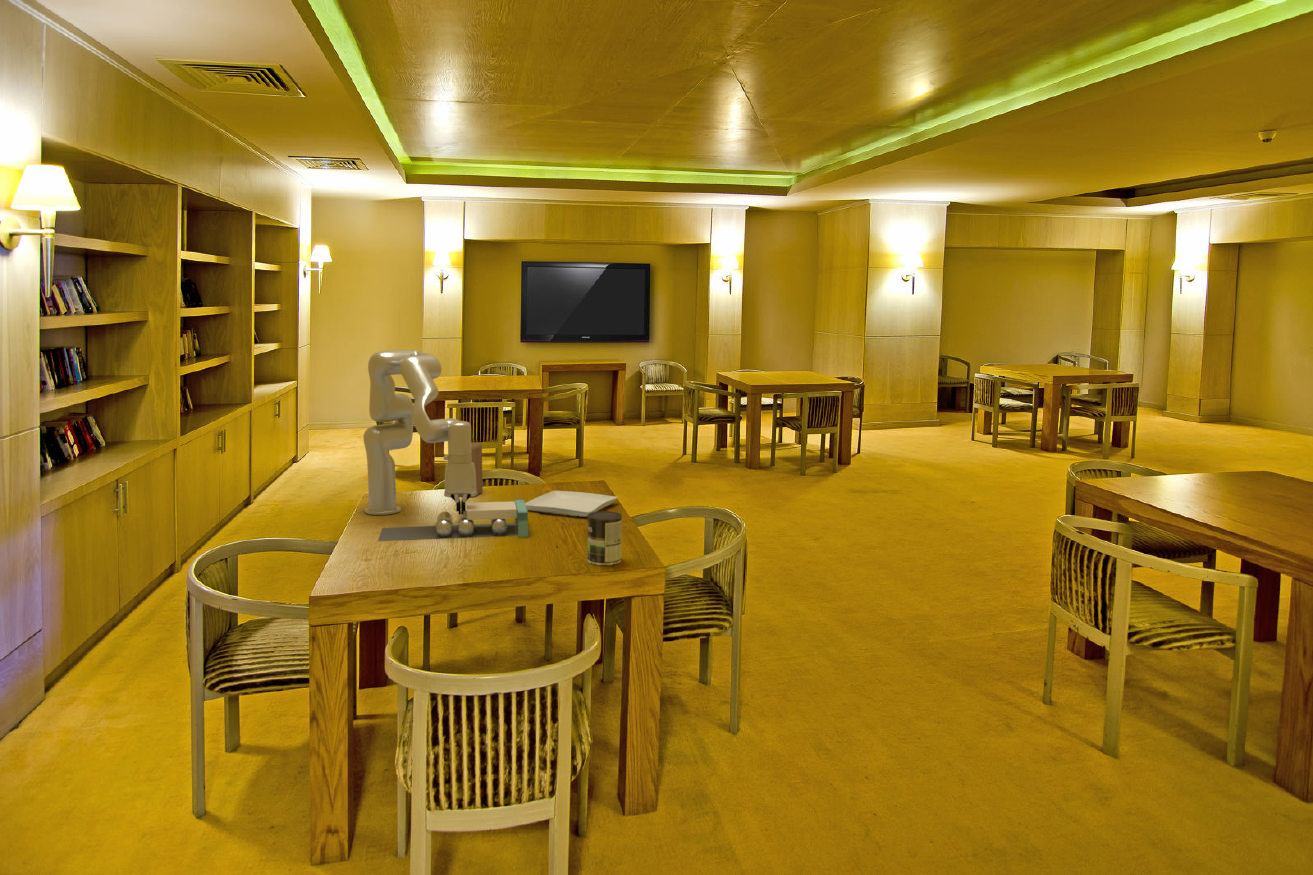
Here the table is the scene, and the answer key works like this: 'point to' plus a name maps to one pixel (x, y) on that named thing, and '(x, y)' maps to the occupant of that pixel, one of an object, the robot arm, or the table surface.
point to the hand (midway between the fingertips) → (461, 513)
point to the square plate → (569, 503)
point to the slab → (491, 510)
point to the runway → (479, 529)
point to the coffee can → (604, 538)
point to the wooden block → (477, 466)
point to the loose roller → (499, 526)
